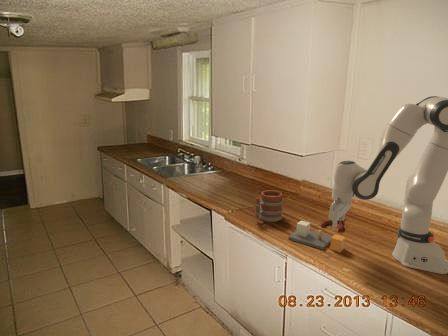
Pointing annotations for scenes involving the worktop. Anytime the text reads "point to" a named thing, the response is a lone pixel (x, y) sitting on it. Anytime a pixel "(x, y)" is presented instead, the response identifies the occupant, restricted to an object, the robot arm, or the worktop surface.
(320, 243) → the plate
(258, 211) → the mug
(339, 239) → the orange matte cube
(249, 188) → the worktop surface
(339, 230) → the pliers
